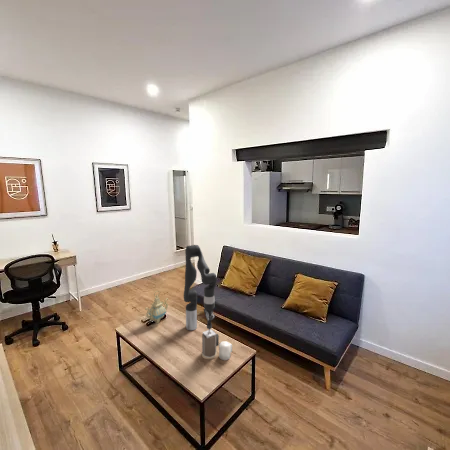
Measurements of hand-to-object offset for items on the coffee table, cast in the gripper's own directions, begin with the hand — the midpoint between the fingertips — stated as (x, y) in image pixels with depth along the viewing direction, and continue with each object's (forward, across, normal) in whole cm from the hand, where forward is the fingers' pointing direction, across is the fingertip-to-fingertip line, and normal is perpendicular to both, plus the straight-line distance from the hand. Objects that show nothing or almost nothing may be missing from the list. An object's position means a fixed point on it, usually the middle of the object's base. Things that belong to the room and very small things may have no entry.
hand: (209, 324), depth 177 cm
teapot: (+23, -60, -18) cm, 67 cm away
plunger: (+17, 0, 0) cm, 17 cm away
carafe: (+23, 0, 0) cm, 23 cm away
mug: (+23, +8, +8) cm, 26 cm away
